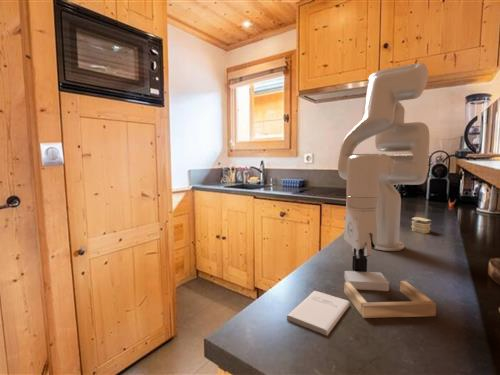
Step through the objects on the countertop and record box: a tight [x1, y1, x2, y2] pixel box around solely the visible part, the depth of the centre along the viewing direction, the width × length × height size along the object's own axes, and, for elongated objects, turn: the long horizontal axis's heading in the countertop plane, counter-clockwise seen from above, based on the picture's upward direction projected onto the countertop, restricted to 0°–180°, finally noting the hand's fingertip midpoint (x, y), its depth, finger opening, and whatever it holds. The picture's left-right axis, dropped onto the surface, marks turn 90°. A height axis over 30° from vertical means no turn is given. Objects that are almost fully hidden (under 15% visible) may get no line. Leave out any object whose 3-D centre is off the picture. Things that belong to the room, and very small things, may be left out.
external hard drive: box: [286, 290, 351, 337], centre depth 55 cm, size 2×8×12 cm
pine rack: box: [343, 280, 437, 319], centre depth 58 cm, size 10×14×2 cm
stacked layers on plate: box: [410, 216, 432, 234], centre depth 114 cm, size 10×9×6 cm
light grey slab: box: [343, 270, 390, 292], centre depth 67 cm, size 6×9×2 cm, turn 81°
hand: (359, 271), depth 72 cm, fingers closed
